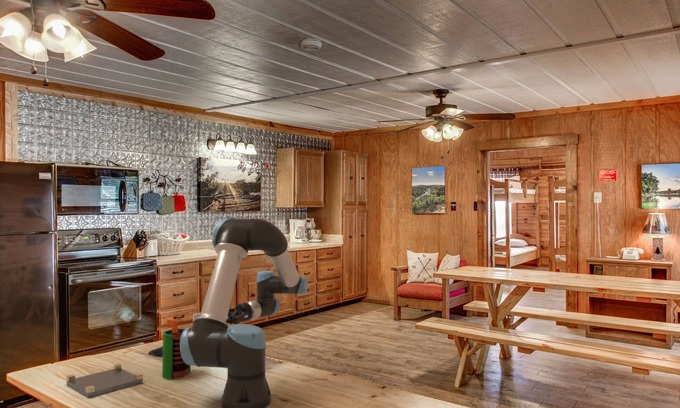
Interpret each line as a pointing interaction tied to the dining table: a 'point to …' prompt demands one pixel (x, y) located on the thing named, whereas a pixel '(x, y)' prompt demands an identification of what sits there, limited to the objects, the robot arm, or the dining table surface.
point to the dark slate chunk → (157, 352)
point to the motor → (173, 353)
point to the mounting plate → (104, 381)
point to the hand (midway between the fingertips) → (203, 320)
